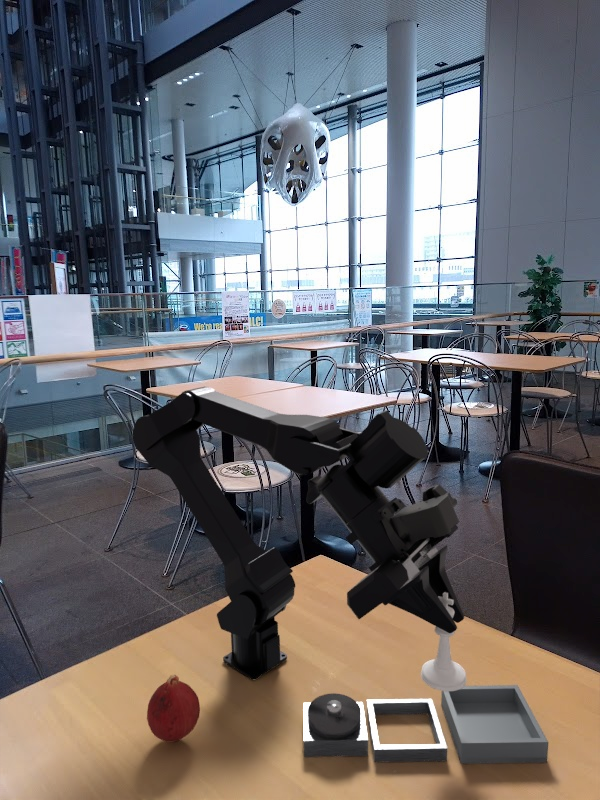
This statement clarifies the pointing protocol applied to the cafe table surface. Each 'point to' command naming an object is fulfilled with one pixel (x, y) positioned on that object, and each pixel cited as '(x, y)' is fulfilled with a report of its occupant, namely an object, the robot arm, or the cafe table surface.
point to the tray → (493, 725)
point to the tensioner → (347, 735)
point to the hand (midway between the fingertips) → (457, 625)
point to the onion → (173, 710)
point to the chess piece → (444, 661)
